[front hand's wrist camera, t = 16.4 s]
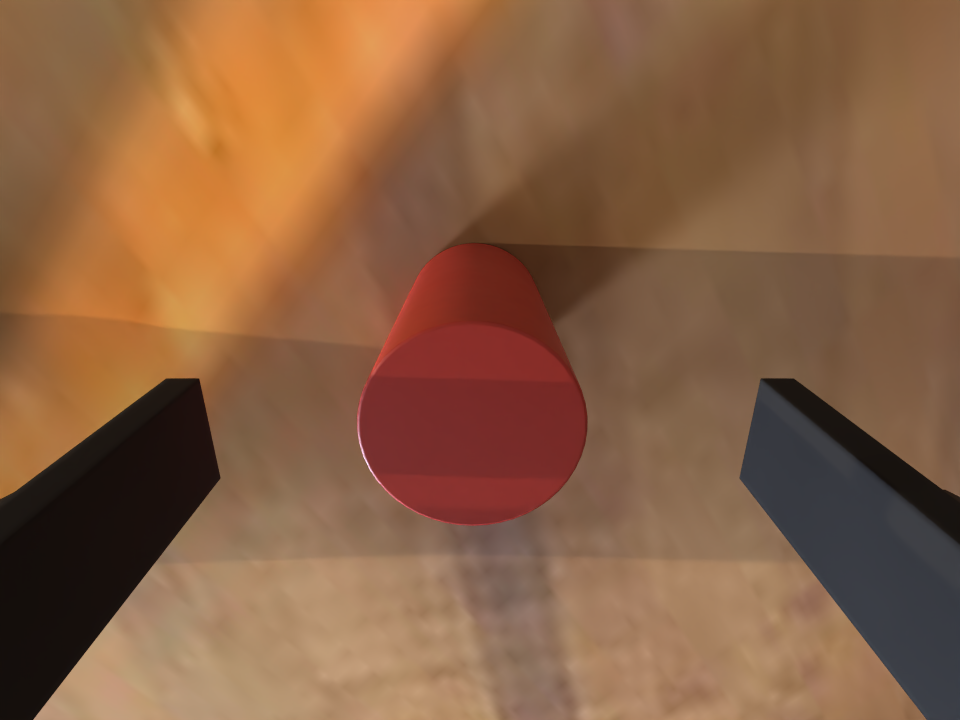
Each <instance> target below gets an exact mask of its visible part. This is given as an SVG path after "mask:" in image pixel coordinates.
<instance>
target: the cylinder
mask: <svg viewBox="0 0 960 720" xmlns="http://www.w3.org/2000/svg"><path fill="white" fill-rule="evenodd" d="M357 431H358V437H359V444H360V447H361V450H362V453H363V456H364V458H365V460H366V462H367V465H368V467H369V469H370V470H371V472H372V473H373V475H374V476H375V478H376V480H377V481H378V482H379V483H380V484H381V486H382V487H383V488H384V489H385V490H386V491H387V492H388V493H389V494H390V495H391V496H392V497H394V498H395V499H396V500H397V501H399V502H400V503H402V504H403V505H404V506H406V507H407V508H409V509H411V510H413V511H415V512H417V513H418V514H421V515H423V516H426V517H428V518H431V519H434V520H437V521H441V522H445V523H450V524H457V525H471V526H474V525H489V524H495V523H501V522H504V521H508V520H511V519H514V518H517V517H519V516H522V515H524V514H527V513H529V512H530V511H532V510H534V509H536V508H538V507H539V506H541V505H542V504H544V503H545V502H546V501H548V500H549V499H550V498H551V497H553V496H554V495H555V494H556V493H557V492H558V491H559V490H560V489H561V488H562V487H563V485H564V484H565V483H566V482H567V481H568V479H569V478H570V476H571V475H572V473H573V472H574V470H575V468H576V466H577V464H578V462H579V460H580V458H581V455H582V452H583V449H584V446H585V442H586V435H587V410H586V403H585V400H584V397H583V393H582V390H581V388H580V385H579V383H578V381H577V378H576V376H575V374H574V372H573V369H572V367H571V365H570V362H569V360H568V358H567V356H566V353H565V351H564V349H563V347H562V344H561V342H560V340H559V337H558V335H557V333H556V331H555V328H554V326H553V324H552V321H551V319H550V317H549V315H548V312H547V310H546V308H545V305H544V303H543V301H542V299H541V296H540V294H539V292H538V289H537V287H536V285H535V283H534V281H533V278H532V276H531V275H530V273H529V272H528V270H527V269H526V267H525V266H524V265H523V264H522V263H521V262H520V261H519V260H518V259H517V258H516V257H514V256H513V255H511V254H510V253H508V252H507V251H505V250H503V249H501V248H498V247H495V246H492V245H487V244H480V243H469V244H462V245H457V246H454V247H451V248H448V249H446V250H444V251H442V252H441V253H439V254H438V255H436V256H435V257H433V258H432V259H431V260H430V261H429V262H428V263H427V264H426V265H425V266H424V268H423V269H422V270H421V272H420V273H419V275H418V277H417V279H416V281H415V283H414V285H413V287H412V289H411V291H410V293H409V295H408V297H407V299H406V301H405V303H404V305H403V307H402V310H401V312H400V314H399V316H398V318H397V320H396V322H395V324H394V326H393V328H392V330H391V332H390V334H389V336H388V338H387V340H386V342H385V345H384V347H383V349H382V351H381V353H380V355H379V357H378V359H377V361H376V363H375V365H374V367H373V369H372V371H371V373H370V375H369V377H368V380H367V382H366V384H365V386H364V388H363V391H362V394H361V398H360V401H359V406H358V414H357Z"/></svg>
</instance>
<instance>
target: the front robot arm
mask: <svg viewBox="0 0 960 720" xmlns="http://www.w3.org/2000/svg"><path fill="white" fill-rule="evenodd" d="M219 480H220V474H219V469H218V464H217V460H216V455H215V450H214V446H213V441H212V436H211V432H210V427H209V422H208V418H207V413H206V408H205V403H204V399H203V394H202V389H201V385H200V380H199V379H165V380H164V381H162V382H161V383H160V384H158V385H157V386H156V387H154V388H153V389H152V390H150V391H149V392H148V393H146V394H145V395H144V396H142V397H141V398H140V399H138V400H137V401H136V402H134V403H133V404H132V405H130V406H129V407H128V408H126V409H125V410H124V411H122V412H121V413H120V414H118V415H117V416H116V417H114V418H113V419H112V420H110V421H109V422H108V423H106V424H105V425H104V426H102V427H101V428H100V429H98V430H97V431H96V432H94V433H93V434H92V435H90V436H89V437H88V438H86V439H85V440H84V441H82V442H81V443H80V444H78V445H77V446H75V447H74V448H73V449H71V450H70V451H69V452H67V453H66V454H65V455H63V456H62V457H61V458H59V459H58V460H57V461H55V462H54V463H53V464H51V465H50V466H49V467H47V468H46V469H45V470H43V471H42V472H41V473H39V474H38V475H37V476H35V477H34V478H33V479H31V480H30V481H29V482H27V483H26V484H25V485H23V486H22V487H21V488H19V489H18V490H17V491H15V492H14V493H12V494H10V495H8V496H6V497H4V498H2V499H0V720H33V719H34V718H35V717H36V715H37V714H38V713H39V711H40V710H41V709H42V708H43V706H44V705H45V704H46V702H47V701H48V700H49V699H50V697H51V696H52V695H53V693H54V692H55V691H56V690H57V688H58V687H59V686H60V684H61V683H62V682H63V680H64V679H65V678H66V677H67V675H68V674H69V673H70V671H71V670H72V669H73V668H74V666H75V665H76V664H77V662H78V661H79V660H80V659H81V657H82V656H83V655H84V653H85V652H86V651H87V650H88V648H89V647H90V646H91V644H92V643H93V642H94V641H95V639H96V638H97V637H98V635H99V634H100V633H101V632H102V630H103V629H104V628H105V626H106V625H107V624H108V623H109V621H110V620H111V619H112V617H113V616H114V615H115V613H116V612H117V611H118V610H119V608H120V607H121V606H122V604H123V603H124V602H125V601H126V599H127V598H128V597H129V595H130V594H131V593H132V592H133V590H134V589H135V588H136V586H137V585H138V584H139V583H140V581H141V580H142V579H143V577H144V576H145V575H146V574H147V572H148V571H149V570H150V568H151V567H152V566H153V565H154V563H155V562H156V561H157V559H158V558H159V557H160V556H161V554H162V553H163V552H164V550H165V549H166V548H167V546H168V545H169V544H170V543H171V541H172V540H173V539H174V537H175V536H176V535H177V534H178V532H179V531H180V530H181V528H182V527H183V526H184V525H185V523H186V522H187V521H188V519H189V518H190V517H191V516H192V514H193V513H194V512H195V510H196V509H197V508H198V507H199V505H200V504H201V503H202V501H203V500H204V499H205V498H206V496H207V495H208V494H209V492H210V491H211V490H212V489H213V487H214V486H215V485H216V483H217V482H218V481H219ZM740 480H741V481H742V482H743V483H744V485H745V486H746V487H747V489H748V490H749V491H750V492H751V494H752V495H753V496H754V498H755V499H756V500H757V501H758V503H759V504H760V505H761V507H762V508H763V509H764V510H765V512H766V513H767V514H768V516H769V517H770V518H771V519H772V521H773V522H774V523H775V525H776V526H777V527H778V528H779V530H780V531H781V532H782V534H783V535H784V536H785V537H786V539H787V540H788V541H789V543H790V544H791V545H792V546H793V548H794V549H795V550H796V552H797V553H798V554H799V556H800V557H801V558H802V559H803V561H804V562H805V563H806V565H807V566H808V567H809V568H810V570H811V571H812V572H813V574H814V575H815V576H816V577H817V579H818V580H819V581H820V583H821V584H822V585H823V586H824V588H825V589H826V590H827V592H828V593H829V594H830V595H831V597H832V598H833V599H834V601H835V602H836V603H837V604H838V606H839V607H840V608H841V610H842V611H843V612H844V613H845V615H846V616H847V617H848V619H849V620H850V621H851V623H852V624H853V625H854V626H855V628H856V629H857V630H858V632H859V633H860V634H861V635H862V637H863V638H864V639H865V641H866V642H867V643H868V644H869V646H870V647H871V648H872V650H873V651H874V652H875V653H876V655H877V656H878V657H879V659H880V660H881V661H882V662H883V664H884V665H885V666H886V668H887V669H888V670H889V671H890V673H891V674H892V675H893V677H894V678H895V679H896V680H897V682H898V683H899V684H900V686H901V687H902V688H903V690H904V691H905V692H906V693H907V695H908V696H909V697H910V699H911V700H912V701H913V702H914V704H915V705H916V706H917V708H918V709H919V710H920V711H921V713H922V714H923V715H924V717H925V718H926V719H927V720H960V497H959V496H957V495H955V494H953V493H951V492H949V491H947V490H942V489H941V488H939V487H938V486H937V485H935V484H934V483H933V482H931V481H930V480H929V479H927V478H926V477H925V476H923V475H922V474H921V473H919V472H918V471H917V470H915V469H914V468H913V467H911V466H910V465H909V464H907V463H906V462H905V461H903V460H902V459H901V458H899V457H898V456H897V455H895V454H894V453H893V452H891V451H890V450H889V449H887V448H886V447H885V446H883V445H882V444H880V443H879V442H878V441H876V440H875V439H874V438H872V437H871V436H870V435H868V434H867V433H866V432H864V431H863V430H862V429H860V428H859V427H858V426H856V425H855V424H854V423H852V422H851V421H850V420H848V419H847V418H846V417H844V416H843V415H842V414H840V413H839V412H838V411H836V410H835V409H834V408H832V407H831V406H830V405H828V404H827V403H826V402H824V401H823V400H822V399H820V398H819V397H818V396H816V395H815V394H814V393H812V392H811V391H810V390H808V389H807V388H806V387H804V386H803V385H802V384H800V383H799V382H798V381H796V380H795V379H761V380H760V385H759V389H758V394H757V399H756V403H755V408H754V413H753V418H752V422H751V427H750V432H749V436H748V441H747V446H746V450H745V455H744V460H743V464H742V469H741V474H740Z"/></svg>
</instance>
